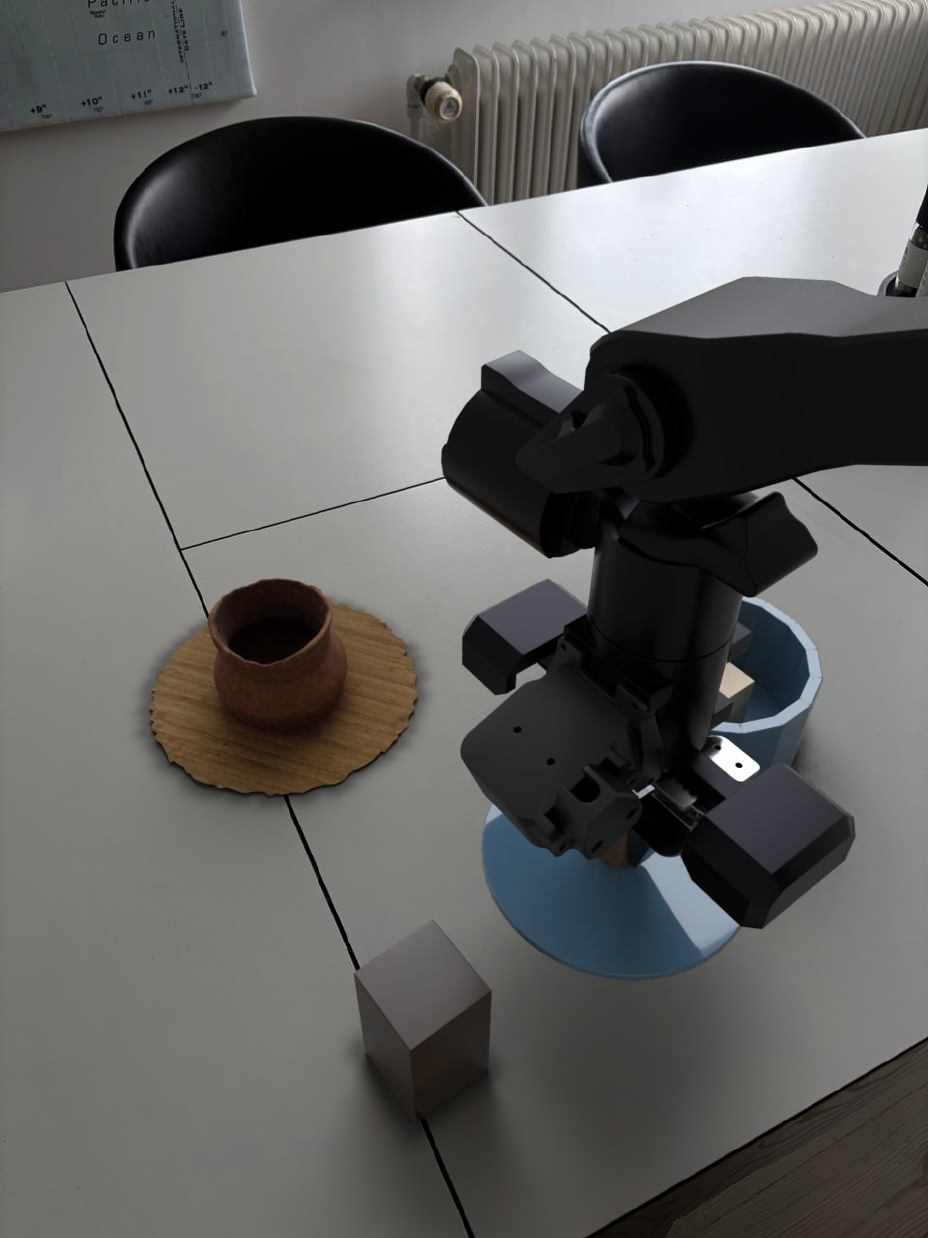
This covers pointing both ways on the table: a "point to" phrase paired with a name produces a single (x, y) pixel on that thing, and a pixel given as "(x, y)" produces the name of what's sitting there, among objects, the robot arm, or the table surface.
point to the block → (736, 691)
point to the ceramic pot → (282, 691)
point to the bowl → (774, 685)
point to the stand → (424, 1019)
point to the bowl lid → (603, 906)
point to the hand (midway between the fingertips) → (618, 842)
